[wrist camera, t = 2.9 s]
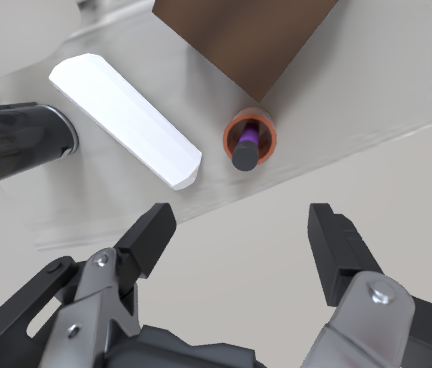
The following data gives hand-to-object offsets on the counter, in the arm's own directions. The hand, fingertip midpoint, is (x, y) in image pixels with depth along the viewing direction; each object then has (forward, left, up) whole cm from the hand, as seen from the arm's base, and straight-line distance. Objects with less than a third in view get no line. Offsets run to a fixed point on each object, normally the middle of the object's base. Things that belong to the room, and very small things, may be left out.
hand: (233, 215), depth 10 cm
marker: (0, 0, -18) cm, 18 cm away
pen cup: (0, 0, -19) cm, 19 cm away
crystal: (-14, -10, -19) cm, 26 cm away
